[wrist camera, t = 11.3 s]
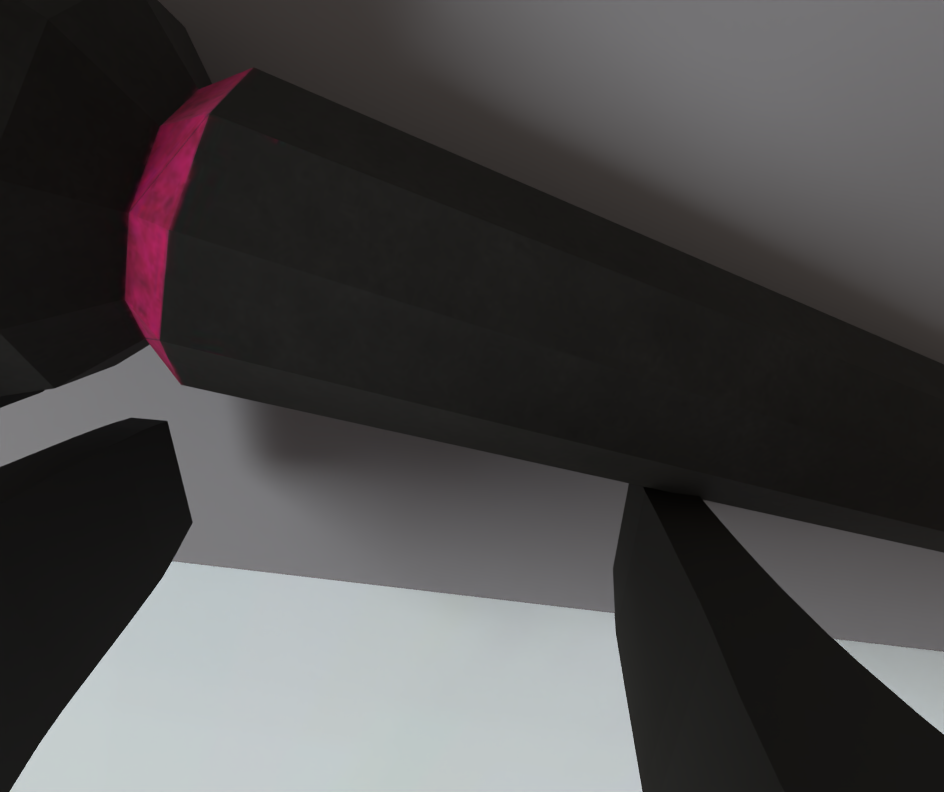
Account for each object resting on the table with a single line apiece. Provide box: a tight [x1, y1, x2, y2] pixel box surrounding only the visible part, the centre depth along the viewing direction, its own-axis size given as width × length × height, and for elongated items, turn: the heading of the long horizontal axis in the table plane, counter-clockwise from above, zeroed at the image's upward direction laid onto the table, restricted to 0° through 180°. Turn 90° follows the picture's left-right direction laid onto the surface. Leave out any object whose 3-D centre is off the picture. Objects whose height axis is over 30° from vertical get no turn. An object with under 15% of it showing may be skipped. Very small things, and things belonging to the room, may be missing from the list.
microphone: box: [0, 0, 944, 553], centre depth 7 cm, size 6×6×20 cm
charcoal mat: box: [0, 0, 944, 652], centre depth 9 cm, size 14×26×1 cm, turn 88°
